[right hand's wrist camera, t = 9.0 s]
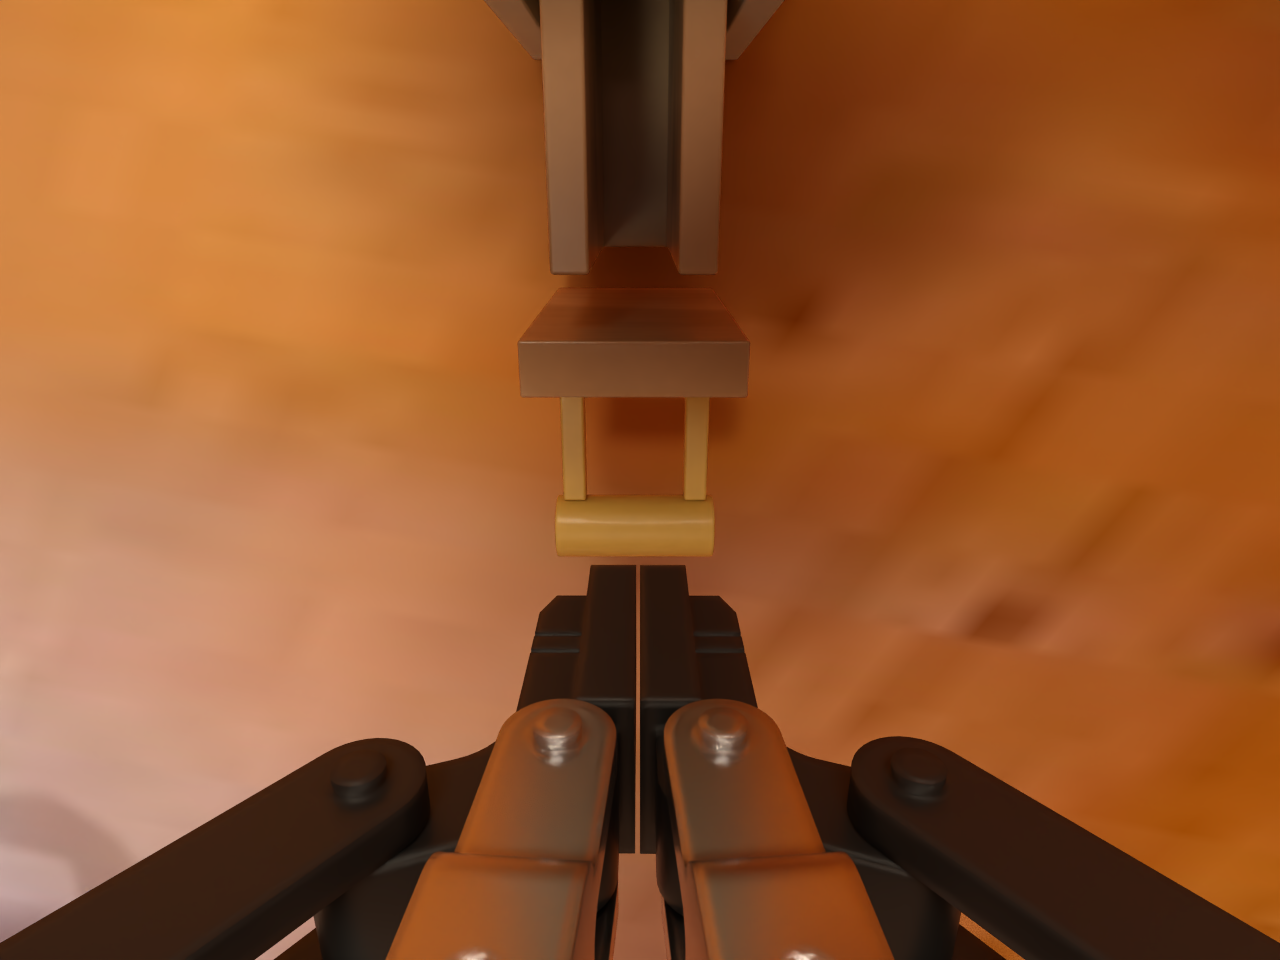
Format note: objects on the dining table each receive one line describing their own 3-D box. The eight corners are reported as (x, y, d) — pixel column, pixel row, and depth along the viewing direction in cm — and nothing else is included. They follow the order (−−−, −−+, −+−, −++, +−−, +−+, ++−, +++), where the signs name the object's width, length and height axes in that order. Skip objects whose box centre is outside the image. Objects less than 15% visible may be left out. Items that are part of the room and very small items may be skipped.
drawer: (705, 483, 27) (736, 618, 18) (565, 483, 27) (532, 618, 18) (735, -394, 19) (812, -854, 10) (533, -394, 19) (450, -856, 10)
